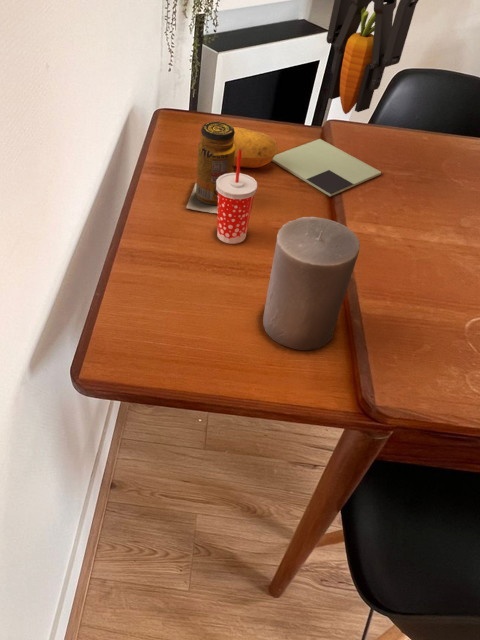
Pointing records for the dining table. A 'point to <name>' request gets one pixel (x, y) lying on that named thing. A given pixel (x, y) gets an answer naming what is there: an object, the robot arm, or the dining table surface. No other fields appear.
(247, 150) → the potato
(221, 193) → the beverage cup
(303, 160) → the corner mat
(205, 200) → the condiment
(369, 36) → the carrot
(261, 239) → the dining table surface
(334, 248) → the pillar candle
